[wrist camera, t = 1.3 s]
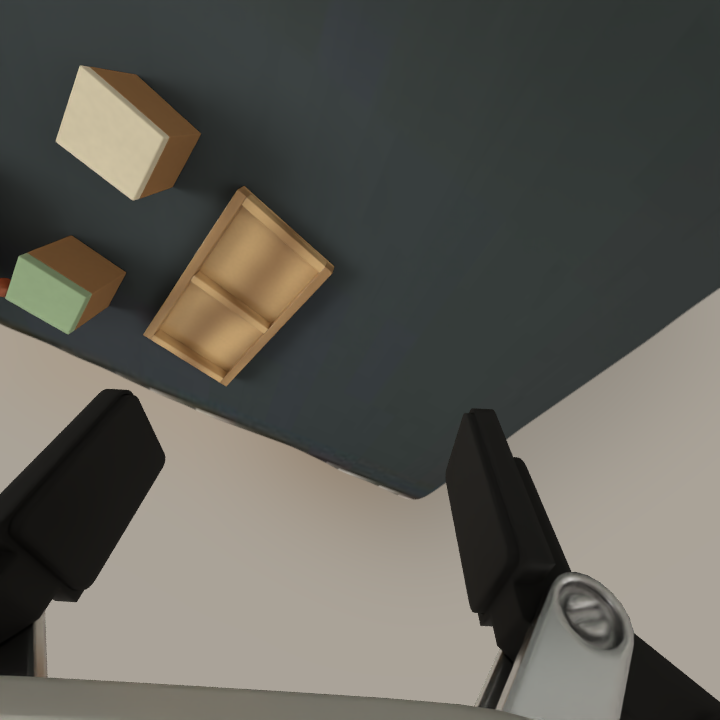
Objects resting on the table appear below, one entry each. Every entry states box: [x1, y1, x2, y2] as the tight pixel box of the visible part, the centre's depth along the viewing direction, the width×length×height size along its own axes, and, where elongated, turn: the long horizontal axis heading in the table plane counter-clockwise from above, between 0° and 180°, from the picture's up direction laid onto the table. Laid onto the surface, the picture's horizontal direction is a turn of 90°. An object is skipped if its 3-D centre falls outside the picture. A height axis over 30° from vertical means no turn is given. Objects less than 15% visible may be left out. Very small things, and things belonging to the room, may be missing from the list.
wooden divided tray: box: [143, 186, 334, 386], centre depth 32 cm, size 10×18×2 cm, turn 137°
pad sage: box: [5, 236, 126, 334], centre depth 30 cm, size 5×5×6 cm
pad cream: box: [56, 65, 201, 201], centre depth 23 cm, size 5×5×6 cm
